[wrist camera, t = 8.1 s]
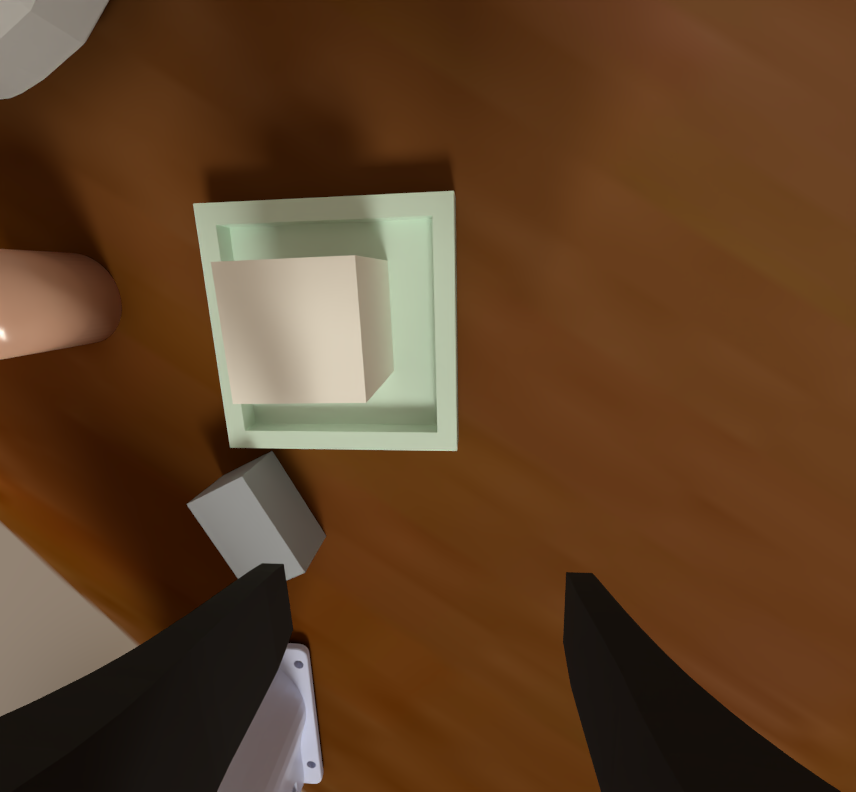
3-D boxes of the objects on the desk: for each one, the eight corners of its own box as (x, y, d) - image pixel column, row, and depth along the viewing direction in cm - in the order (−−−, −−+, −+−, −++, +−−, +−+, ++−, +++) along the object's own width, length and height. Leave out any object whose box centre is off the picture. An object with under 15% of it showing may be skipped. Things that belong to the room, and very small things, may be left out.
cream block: (394, 370, 19) (366, 402, 14) (292, 372, 20) (232, 404, 15) (387, 260, 18) (354, 255, 13) (280, 265, 18) (210, 261, 14)
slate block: (327, 534, 22) (305, 572, 19) (278, 555, 23) (250, 596, 20) (273, 449, 21) (241, 476, 18) (224, 474, 22) (186, 504, 19)
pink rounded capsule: (129, 342, 20) (23, 363, 16) (51, 343, 21) (-76, 364, 16) (111, 251, 19) (-9, 243, 15) (28, 254, 20) (-114, 247, 15)
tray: (458, 439, 20) (457, 450, 19) (245, 436, 21) (229, 447, 20) (455, 197, 17) (453, 190, 16) (213, 208, 18) (193, 203, 17)
